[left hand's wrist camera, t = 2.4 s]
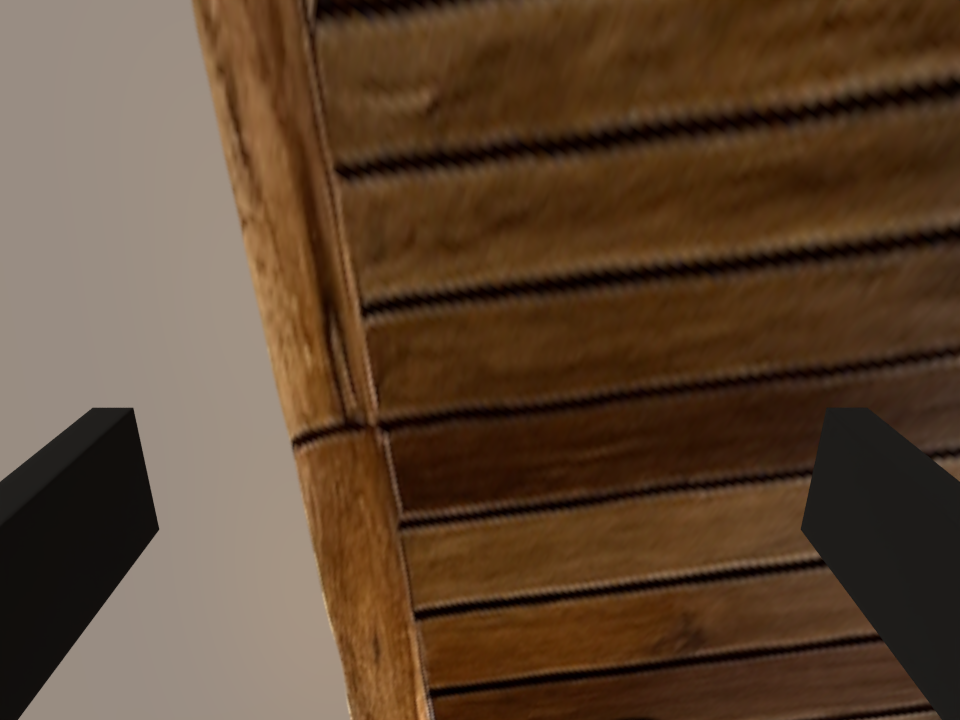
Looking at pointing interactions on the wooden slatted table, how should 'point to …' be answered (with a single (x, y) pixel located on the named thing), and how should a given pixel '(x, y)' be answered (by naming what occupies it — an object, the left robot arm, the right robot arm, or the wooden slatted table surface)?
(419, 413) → the wooden slatted table surface
